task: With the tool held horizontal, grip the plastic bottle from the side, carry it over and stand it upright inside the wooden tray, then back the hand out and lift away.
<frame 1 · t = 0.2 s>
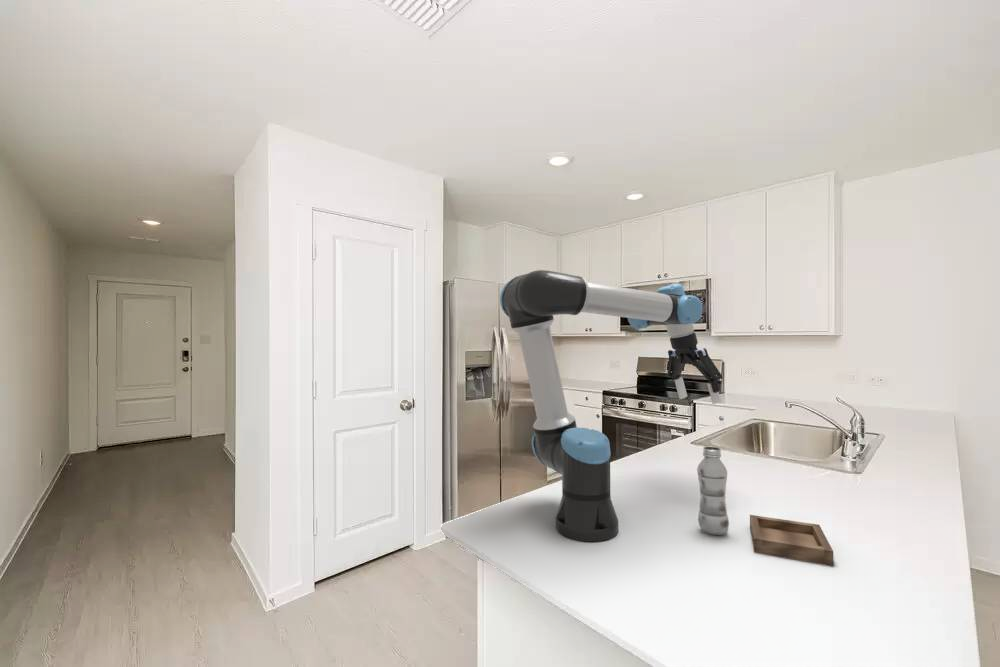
hand: (699, 400, 138), 27 cm above the countertop, tool tilted 15°, fingers open, 13 cm apart
wooden tray: (787, 544, 100), on the countertop
plastic bottle: (713, 533, 106), on the countertop
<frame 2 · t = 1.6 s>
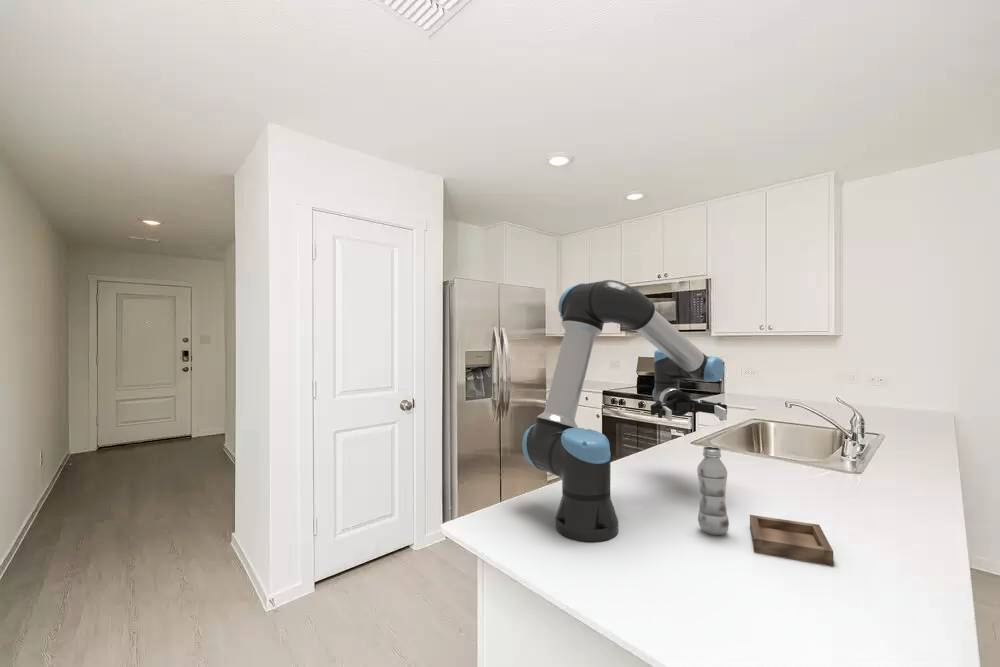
hand: (697, 415, 116), 26 cm above the countertop, tool horizontal, fingers open, 13 cm apart
nothing on the countertop moved.
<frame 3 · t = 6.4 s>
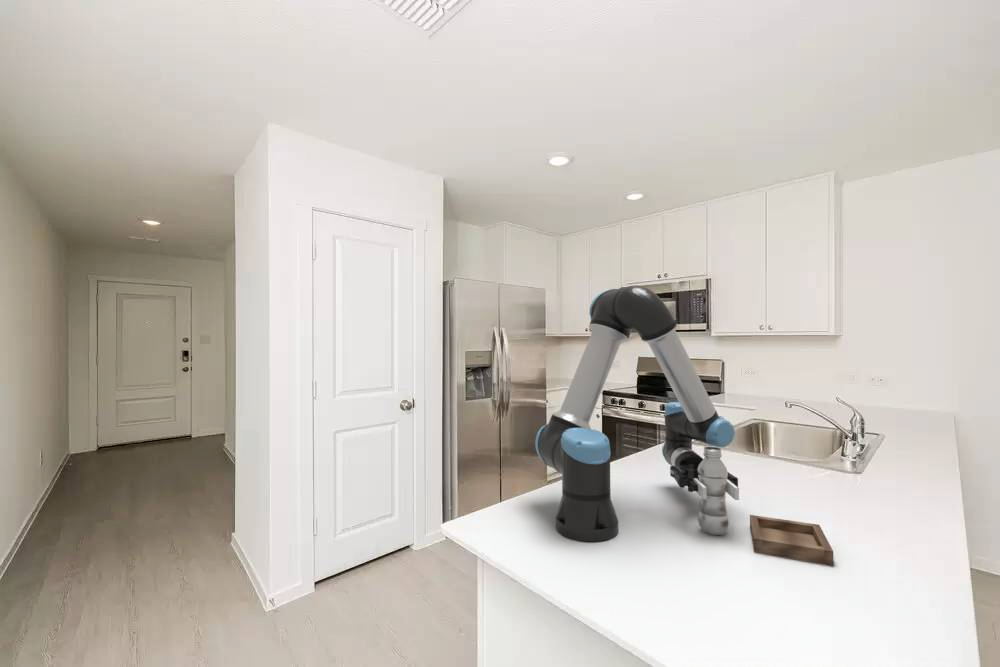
hand: (720, 493, 101), 11 cm above the countertop, tool horizontal, fingers closed on plastic bottle, 6 cm apart
plastic bottle: (713, 533, 106), on the countertop, touching gripper
when the fingers open (13 cm above the countertop, at t = 10.6 s): plastic bottle drops 1 cm, resting on wooden tray.
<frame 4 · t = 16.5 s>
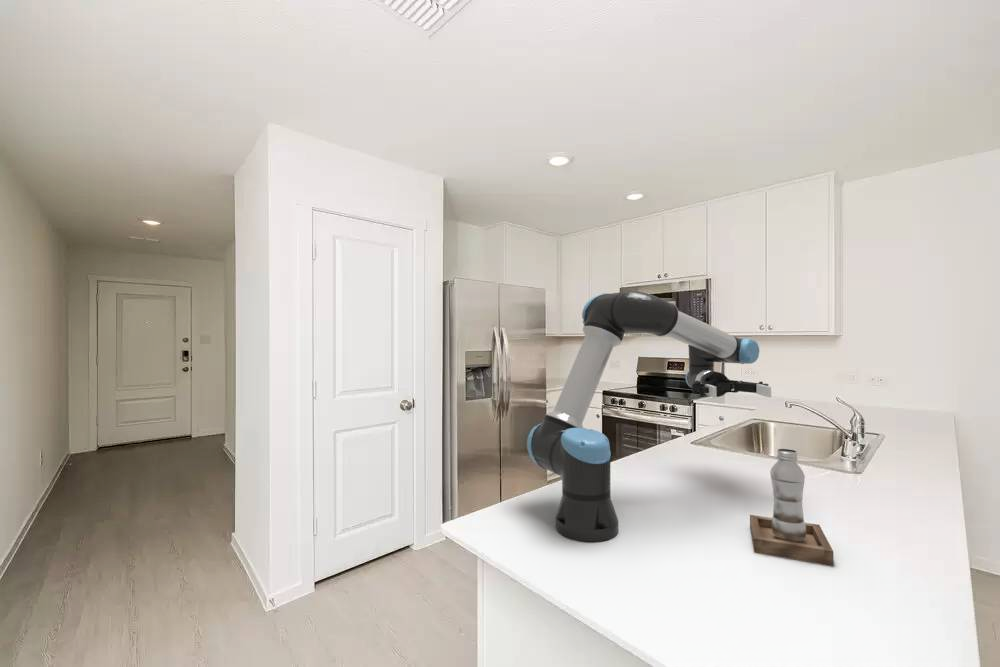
hand: (742, 392, 117), 32 cm above the countertop, tool horizontal, fingers open, 13 cm apart
plastic bottle: (788, 541, 100), point 1 cm above the countertop, touching wooden tray
at the end: plastic bottle inside the target area on the wooden tray (0.2 cm from its centre), point 0.8 cm above the wooden tray's base; plastic bottle tilted 0°; the gripper is holding nothing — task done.
